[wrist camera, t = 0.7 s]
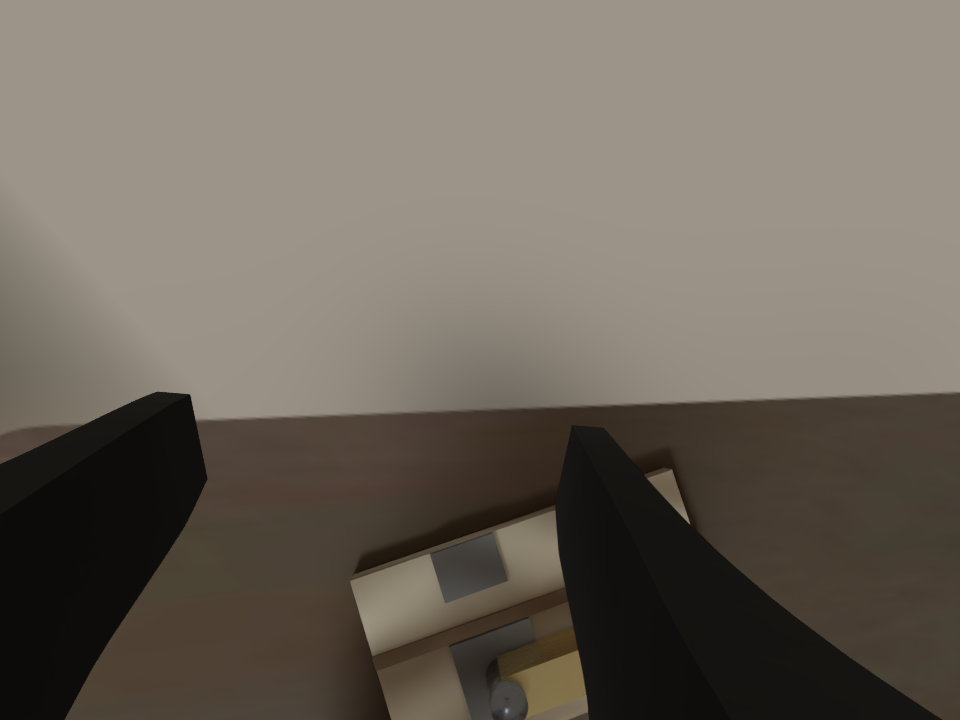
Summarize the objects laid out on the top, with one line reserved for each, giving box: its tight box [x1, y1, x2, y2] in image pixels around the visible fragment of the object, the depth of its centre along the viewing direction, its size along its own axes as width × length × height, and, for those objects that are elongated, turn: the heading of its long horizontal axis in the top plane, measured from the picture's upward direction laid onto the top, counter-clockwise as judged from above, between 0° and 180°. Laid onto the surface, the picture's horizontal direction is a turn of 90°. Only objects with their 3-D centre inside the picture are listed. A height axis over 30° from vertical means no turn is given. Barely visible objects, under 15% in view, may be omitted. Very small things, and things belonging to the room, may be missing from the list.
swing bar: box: [486, 628, 586, 720], centre depth 30 cm, size 10×2×3 cm, turn 108°
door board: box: [350, 468, 690, 720], centre depth 32 cm, size 12×21×2 cm, turn 108°
